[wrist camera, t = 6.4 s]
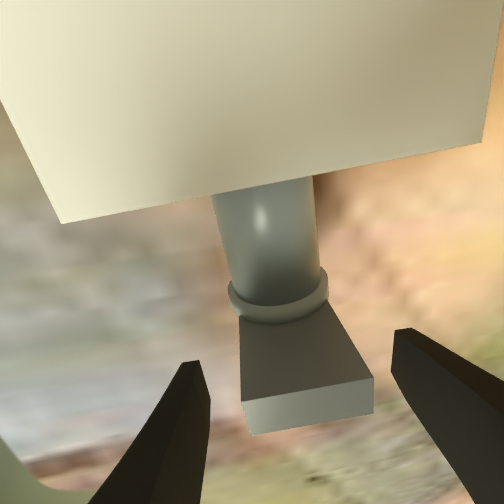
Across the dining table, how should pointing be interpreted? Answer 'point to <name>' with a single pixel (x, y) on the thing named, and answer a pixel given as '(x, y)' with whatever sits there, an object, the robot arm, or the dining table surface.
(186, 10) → the button housing
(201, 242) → the dining table surface
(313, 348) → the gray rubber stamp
